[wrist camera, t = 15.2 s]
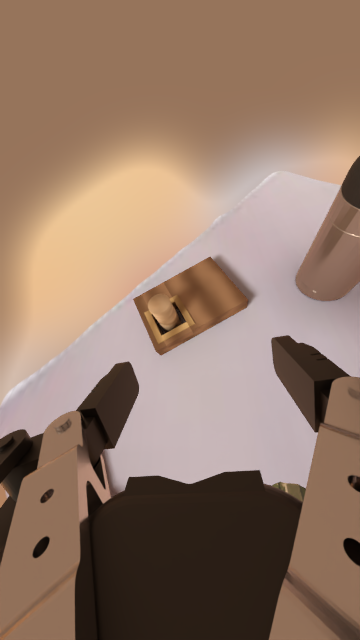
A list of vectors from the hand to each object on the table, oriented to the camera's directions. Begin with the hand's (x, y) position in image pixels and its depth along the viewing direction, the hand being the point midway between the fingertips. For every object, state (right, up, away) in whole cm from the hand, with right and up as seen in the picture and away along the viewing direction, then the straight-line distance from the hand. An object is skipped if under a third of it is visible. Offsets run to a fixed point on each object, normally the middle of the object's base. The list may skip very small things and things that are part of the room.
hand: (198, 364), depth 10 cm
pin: (-3, +1, +29) cm, 29 cm away
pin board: (+1, +5, +30) cm, 31 cm away
